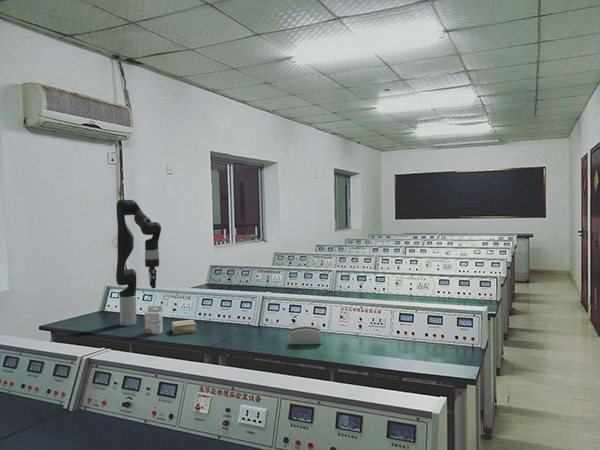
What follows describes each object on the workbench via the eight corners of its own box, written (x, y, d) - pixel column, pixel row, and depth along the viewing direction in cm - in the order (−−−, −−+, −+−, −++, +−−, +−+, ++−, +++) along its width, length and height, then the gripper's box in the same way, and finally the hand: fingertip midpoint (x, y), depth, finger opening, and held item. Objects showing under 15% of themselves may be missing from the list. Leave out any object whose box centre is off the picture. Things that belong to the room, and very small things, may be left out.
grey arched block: (321, 341, 246) (321, 324, 242) (322, 346, 242) (322, 329, 238) (288, 341, 246) (288, 324, 243) (288, 347, 242) (287, 330, 238)
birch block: (172, 330, 277) (171, 321, 277) (193, 328, 282) (193, 319, 281) (174, 335, 266) (174, 326, 266) (196, 332, 270) (196, 323, 270)
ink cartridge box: (144, 334, 269) (144, 307, 268) (148, 331, 273) (147, 305, 273) (159, 334, 268) (159, 307, 267) (163, 331, 273) (162, 305, 272)
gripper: (143, 257, 275) (144, 286, 275) (146, 259, 262) (146, 289, 262) (157, 256, 278) (158, 285, 278) (160, 258, 265) (161, 288, 265)
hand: (152, 287), depth 270 cm, fingers open, 8 cm apart
